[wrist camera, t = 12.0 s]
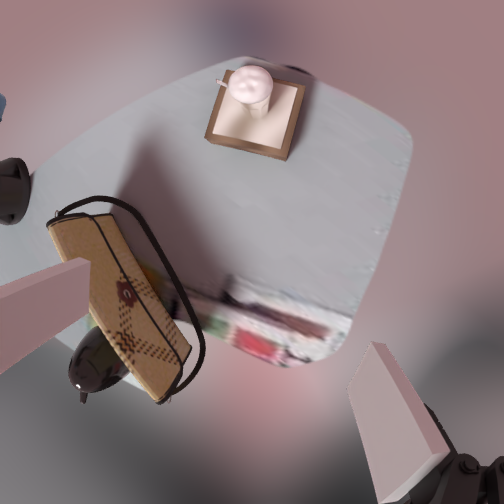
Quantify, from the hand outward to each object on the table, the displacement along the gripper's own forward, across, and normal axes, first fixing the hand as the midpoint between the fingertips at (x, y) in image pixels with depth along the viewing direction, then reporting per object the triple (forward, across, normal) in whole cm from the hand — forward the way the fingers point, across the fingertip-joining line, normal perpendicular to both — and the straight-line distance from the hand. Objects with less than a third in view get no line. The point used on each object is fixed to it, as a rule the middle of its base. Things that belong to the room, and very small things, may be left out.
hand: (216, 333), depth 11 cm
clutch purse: (+29, -14, -10) cm, 34 cm away
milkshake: (+25, -5, +17) cm, 30 cm away
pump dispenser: (+29, -20, -26) cm, 43 cm away
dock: (+29, -5, +17) cm, 34 cm away
